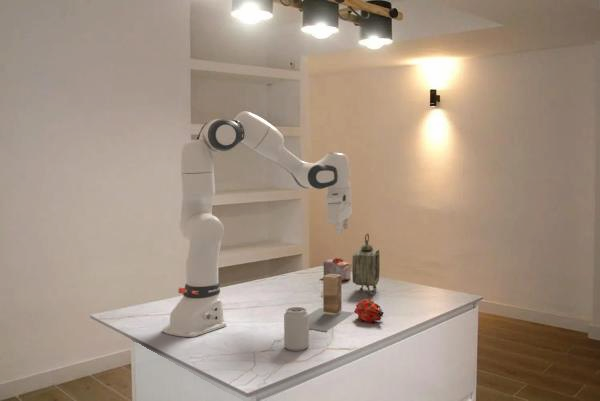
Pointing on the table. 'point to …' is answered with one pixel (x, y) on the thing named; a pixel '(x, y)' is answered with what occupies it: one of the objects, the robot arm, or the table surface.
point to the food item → (338, 268)
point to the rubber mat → (325, 320)
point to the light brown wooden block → (332, 294)
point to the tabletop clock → (366, 266)
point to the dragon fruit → (368, 311)
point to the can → (296, 329)
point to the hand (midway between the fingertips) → (342, 231)
